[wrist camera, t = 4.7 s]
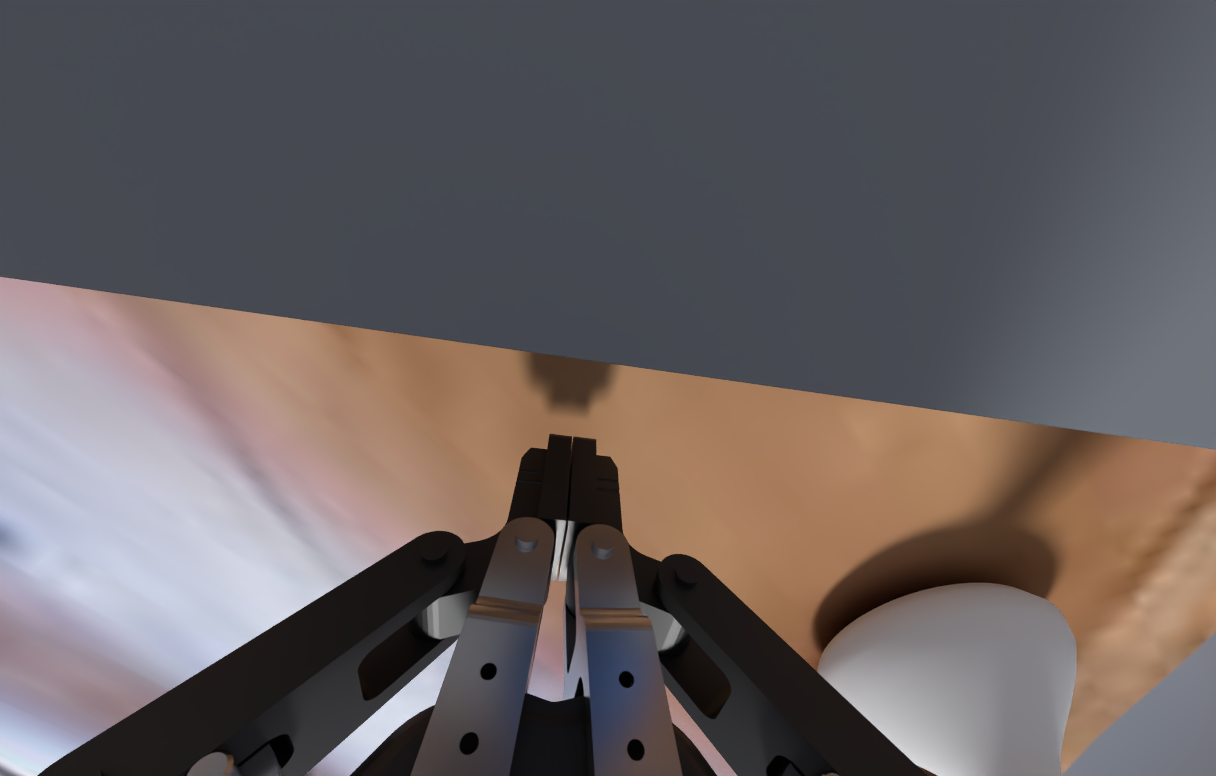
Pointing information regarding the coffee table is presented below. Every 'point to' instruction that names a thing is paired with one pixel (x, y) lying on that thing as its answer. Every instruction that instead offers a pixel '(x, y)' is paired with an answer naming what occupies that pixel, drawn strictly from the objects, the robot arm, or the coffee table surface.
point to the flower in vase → (962, 678)
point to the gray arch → (656, 184)
